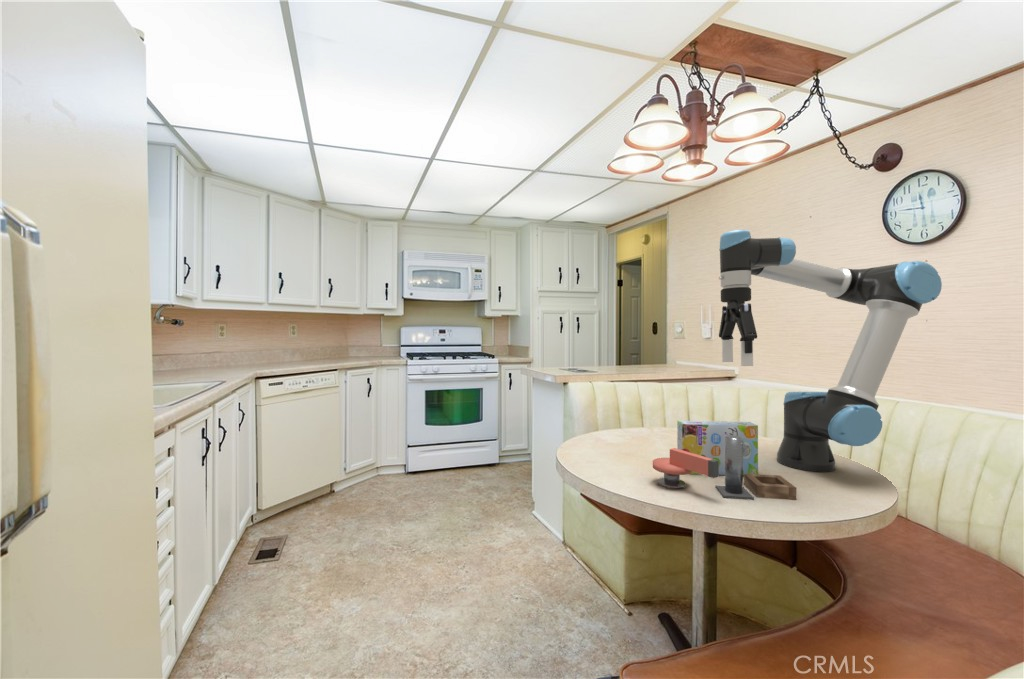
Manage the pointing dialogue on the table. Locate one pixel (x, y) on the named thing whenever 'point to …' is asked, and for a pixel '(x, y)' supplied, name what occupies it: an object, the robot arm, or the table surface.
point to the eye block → (769, 486)
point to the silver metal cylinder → (734, 464)
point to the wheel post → (671, 481)
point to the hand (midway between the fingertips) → (736, 363)
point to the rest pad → (736, 496)
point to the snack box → (719, 441)
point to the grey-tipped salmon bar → (686, 464)
